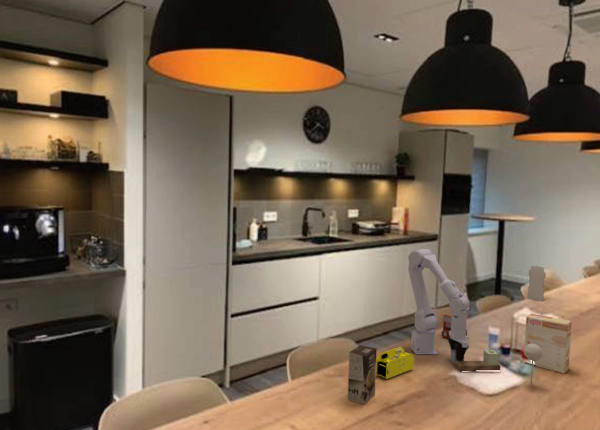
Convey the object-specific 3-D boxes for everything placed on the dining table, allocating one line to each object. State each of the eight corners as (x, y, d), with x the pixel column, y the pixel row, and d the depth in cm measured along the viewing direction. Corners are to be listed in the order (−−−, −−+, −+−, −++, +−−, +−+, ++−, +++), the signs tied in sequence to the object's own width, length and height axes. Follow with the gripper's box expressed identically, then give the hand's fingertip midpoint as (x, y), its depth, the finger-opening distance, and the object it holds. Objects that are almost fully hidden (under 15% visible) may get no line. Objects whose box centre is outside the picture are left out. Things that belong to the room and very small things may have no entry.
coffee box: (364, 405, 148) (366, 356, 147) (346, 399, 151) (348, 352, 150) (375, 394, 155) (377, 347, 154) (358, 389, 159) (360, 344, 158)
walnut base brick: (459, 372, 176) (460, 365, 176) (454, 366, 181) (454, 360, 181) (500, 372, 177) (500, 365, 176) (494, 366, 182) (494, 360, 181)
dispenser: (525, 298, 297) (527, 264, 295) (528, 297, 299) (530, 264, 298) (542, 301, 289) (544, 267, 287) (545, 301, 291) (547, 266, 290)
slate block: (454, 364, 184) (454, 351, 183) (450, 360, 188) (450, 348, 187) (463, 364, 184) (464, 351, 184) (459, 360, 188) (460, 348, 188)
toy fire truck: (461, 344, 207) (462, 321, 207) (438, 336, 217) (439, 315, 216) (470, 341, 212) (471, 319, 211) (446, 334, 221) (447, 312, 221)
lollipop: (533, 389, 162) (535, 348, 161) (518, 382, 167) (520, 342, 166) (544, 386, 165) (546, 345, 164) (529, 379, 170) (531, 340, 169)
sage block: (488, 365, 177) (488, 352, 176) (483, 361, 181) (483, 348, 180) (498, 365, 177) (498, 352, 177) (493, 361, 181) (493, 348, 181)
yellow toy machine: (402, 366, 181) (402, 345, 180) (414, 370, 177) (414, 349, 176) (375, 376, 171) (375, 354, 170) (386, 381, 166) (387, 359, 166)
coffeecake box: (569, 368, 181) (572, 320, 180) (564, 374, 176) (567, 324, 175) (528, 358, 192) (531, 312, 190) (523, 363, 186) (526, 316, 185)
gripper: (476, 331, 178) (474, 365, 179) (461, 320, 192) (459, 352, 193) (458, 331, 177) (456, 365, 178) (444, 320, 192) (443, 352, 193)
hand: (457, 358), depth 186 cm, fingers open, 4 cm apart
